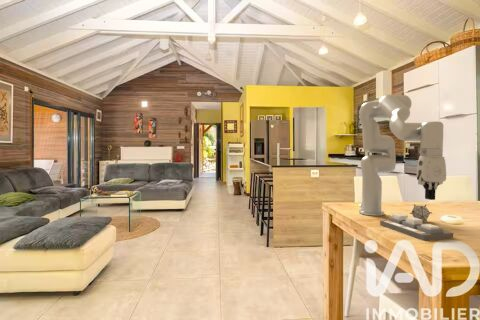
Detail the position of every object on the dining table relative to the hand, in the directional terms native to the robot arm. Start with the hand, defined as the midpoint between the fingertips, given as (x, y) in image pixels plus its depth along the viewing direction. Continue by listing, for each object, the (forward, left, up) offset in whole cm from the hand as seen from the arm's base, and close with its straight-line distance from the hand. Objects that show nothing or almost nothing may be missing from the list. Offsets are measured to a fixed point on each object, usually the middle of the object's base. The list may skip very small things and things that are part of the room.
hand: (430, 199), depth 117 cm
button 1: (-16, 0, -12) cm, 20 cm away
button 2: (0, 0, -13) cm, 13 cm away
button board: (-8, 0, -15) cm, 17 cm away
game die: (-22, +17, -15) cm, 31 cm away
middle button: (-8, 0, -12) cm, 14 cm away
